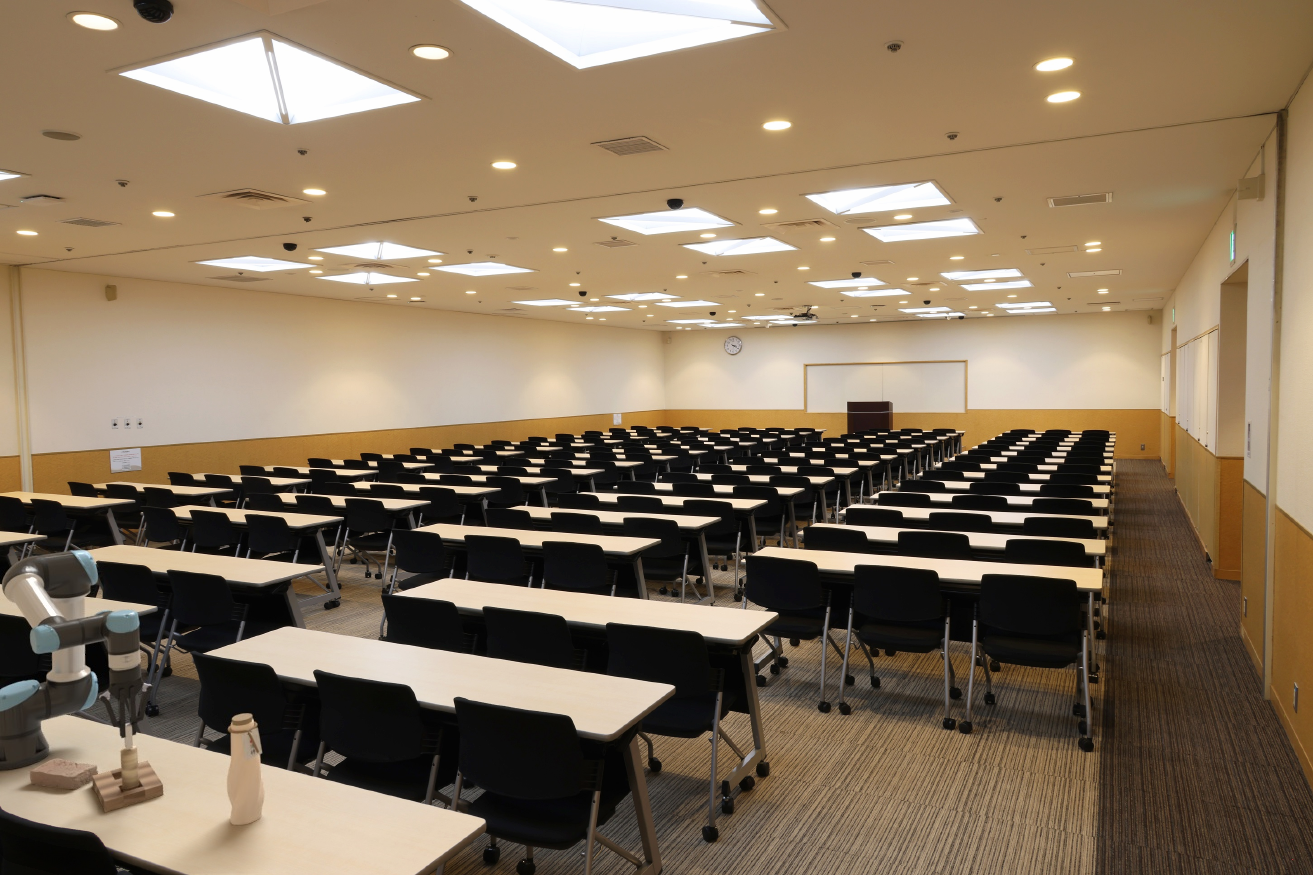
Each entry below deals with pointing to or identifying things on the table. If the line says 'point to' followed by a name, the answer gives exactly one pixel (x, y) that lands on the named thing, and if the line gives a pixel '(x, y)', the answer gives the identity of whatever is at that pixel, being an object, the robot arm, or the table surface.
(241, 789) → the water bottle
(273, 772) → the table surface
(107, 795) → the board
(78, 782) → the brick
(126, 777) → the peg
